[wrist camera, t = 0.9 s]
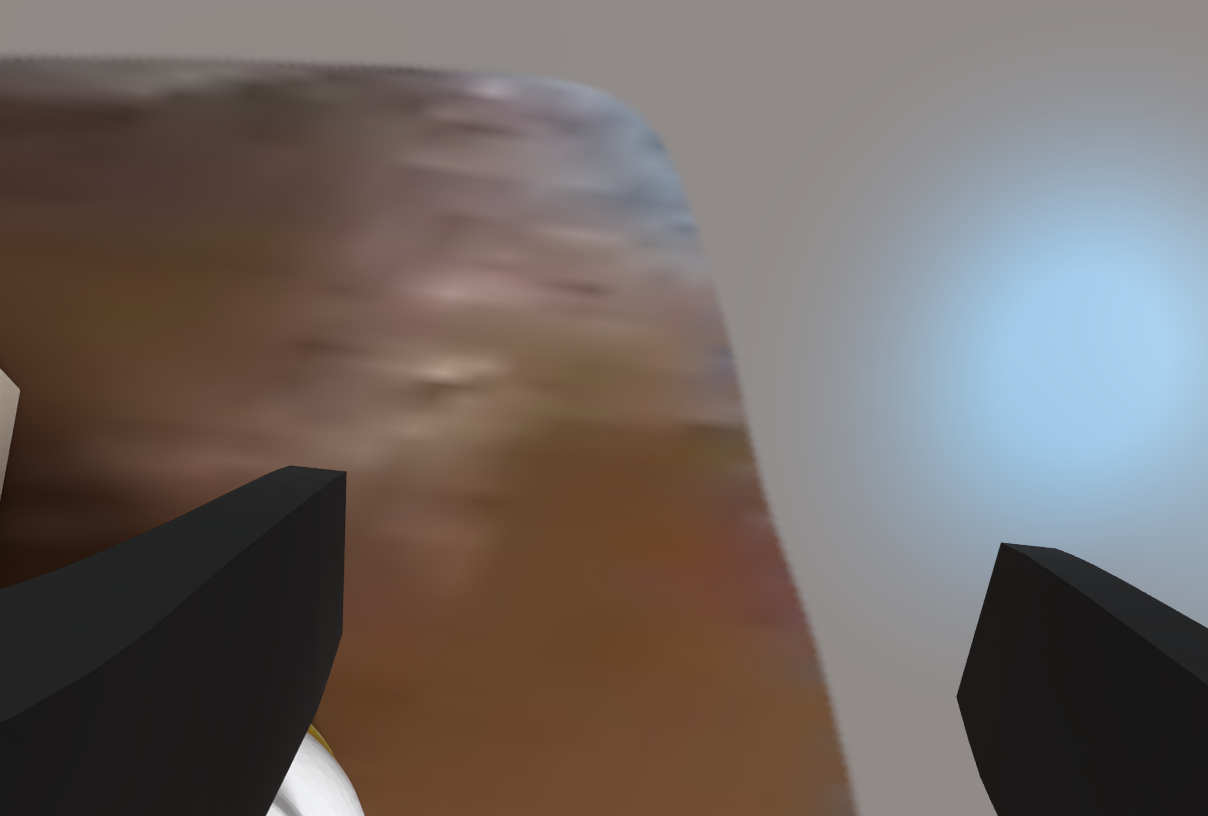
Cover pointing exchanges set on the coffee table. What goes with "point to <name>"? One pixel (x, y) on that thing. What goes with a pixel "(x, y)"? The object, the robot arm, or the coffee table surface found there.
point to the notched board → (6, 420)
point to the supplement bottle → (315, 784)
